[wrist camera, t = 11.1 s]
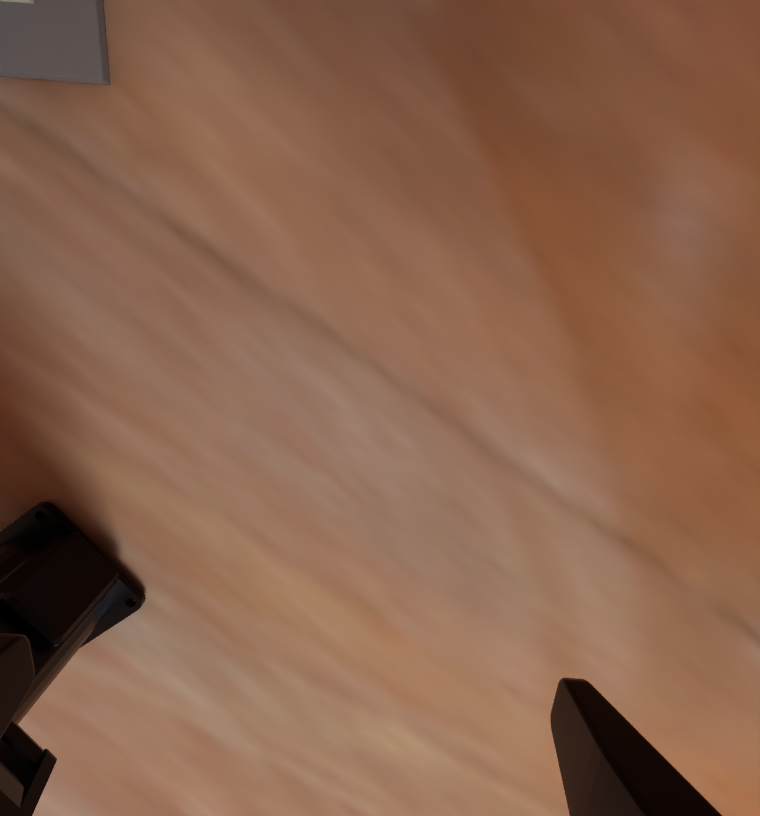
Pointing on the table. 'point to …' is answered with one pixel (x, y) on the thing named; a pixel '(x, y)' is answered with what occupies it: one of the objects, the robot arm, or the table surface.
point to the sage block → (20, 0)
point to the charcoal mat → (54, 41)
